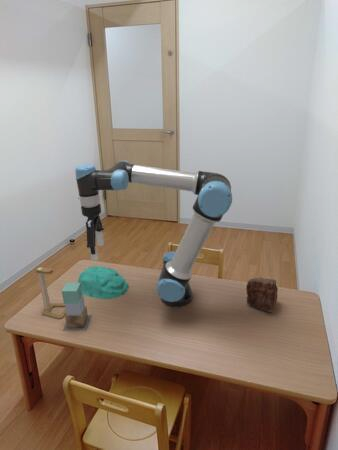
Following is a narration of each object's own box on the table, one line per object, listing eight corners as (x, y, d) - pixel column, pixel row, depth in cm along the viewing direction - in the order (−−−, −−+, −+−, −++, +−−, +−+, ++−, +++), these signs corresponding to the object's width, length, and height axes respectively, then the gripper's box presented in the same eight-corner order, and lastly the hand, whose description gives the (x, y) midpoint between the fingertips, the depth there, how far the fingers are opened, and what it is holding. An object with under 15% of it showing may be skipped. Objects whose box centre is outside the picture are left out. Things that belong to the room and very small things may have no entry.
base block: (88, 317, 146) (86, 305, 144) (83, 328, 139) (82, 316, 137) (72, 317, 146) (70, 305, 144) (67, 328, 140) (65, 316, 137)
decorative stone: (92, 272, 182) (90, 256, 178) (135, 283, 171) (134, 266, 167) (66, 292, 165) (63, 275, 161) (113, 305, 154) (111, 287, 150)
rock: (244, 313, 147) (246, 284, 141) (245, 297, 157) (247, 270, 151) (277, 317, 144) (281, 288, 138) (276, 301, 154) (279, 273, 148)
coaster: (92, 316, 147) (92, 315, 147) (86, 331, 138) (86, 330, 138) (69, 315, 148) (69, 315, 148) (62, 331, 139) (62, 330, 138)
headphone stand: (62, 320, 145) (54, 277, 136) (39, 317, 147) (29, 274, 138) (73, 305, 154) (66, 264, 146) (51, 303, 157) (43, 262, 148)
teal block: (82, 295, 141) (80, 282, 138) (78, 303, 135) (76, 291, 133) (68, 294, 141) (66, 282, 139) (63, 303, 135) (61, 291, 133)
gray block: (84, 306, 143) (83, 294, 141) (81, 315, 138) (79, 303, 135) (71, 306, 143) (69, 295, 141) (66, 315, 138) (64, 303, 135)
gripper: (87, 195, 143) (94, 240, 151) (73, 216, 120) (82, 268, 128) (105, 194, 143) (111, 239, 151) (94, 215, 120) (101, 266, 128)
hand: (98, 252), depth 140 cm, fingers open, 13 cm apart
